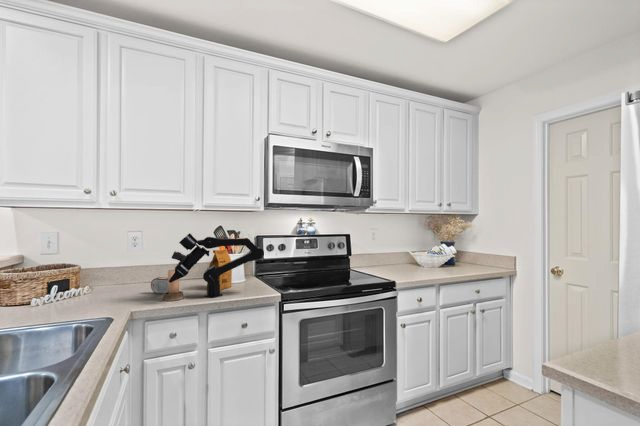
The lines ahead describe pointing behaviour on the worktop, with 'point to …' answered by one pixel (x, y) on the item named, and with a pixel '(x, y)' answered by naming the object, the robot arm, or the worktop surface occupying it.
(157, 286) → the tin
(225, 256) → the coffee package
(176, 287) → the canister
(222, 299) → the worktop surface
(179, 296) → the holder
